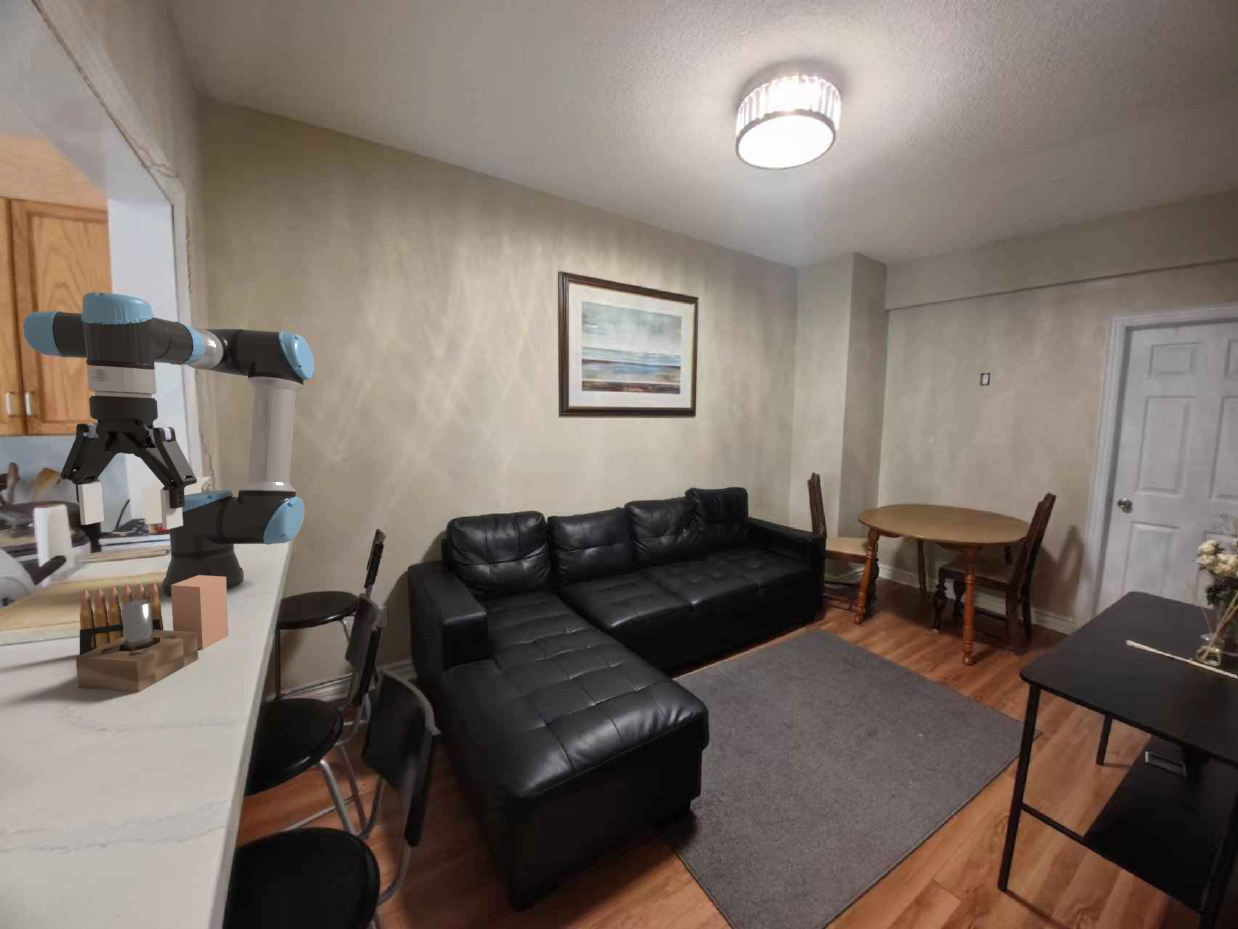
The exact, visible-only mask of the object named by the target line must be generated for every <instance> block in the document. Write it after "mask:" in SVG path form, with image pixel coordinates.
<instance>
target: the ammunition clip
mask: <svg viewBox="0 0 1238 929" xmlns="http://www.w3.org/2000/svg"><path fill="white" fill-rule="evenodd" d="M118 594H119V593H118V591H117V589H116V587H115V586H111V588H110V589H109V596H108V608H107V606H106V605H107V604H106V600H105V594H104V592H103V590H102V589H101V587H98V588H97V590H96V592H95V594H94V595H95V596H94V610H93V607H92V600H91V596H90V594H89V592H88V590H87V589H83V591H82V593H81V596H80V610H79V627H80V629H79V656H80V655H83V654H85V653H87V652H90V651H92V650H94V649H97V648H99V647H101V646H104V645H106V644H108V643H111V642H113V641H115V640H118V639H120V638H122V637H124V631H123V616H122V606H123V605H124V604H126V603H129V602H133V601H134V600H133V596H132V591H131V588H130V586H129V585H127V584H126V585H124V588H123V591H122V603H121V604H122V605H121V606H120V599H119V595H118ZM135 594H136V595H135V598H136V599H135V601H138V600H147V598H146V591H145V588H144V586H143V584H142V583H139V584H138V586H137V588H136V593H135ZM149 600H151V605H152V623H153V629H154V630H165V629H164V622H163V616H162V604H161V601H160V595H159V589H158V586H157V584H156V583H155V582H154V581H153V582H152V583H151V585H150V589H149Z"/></svg>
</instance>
